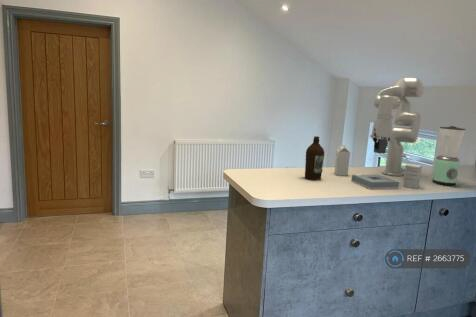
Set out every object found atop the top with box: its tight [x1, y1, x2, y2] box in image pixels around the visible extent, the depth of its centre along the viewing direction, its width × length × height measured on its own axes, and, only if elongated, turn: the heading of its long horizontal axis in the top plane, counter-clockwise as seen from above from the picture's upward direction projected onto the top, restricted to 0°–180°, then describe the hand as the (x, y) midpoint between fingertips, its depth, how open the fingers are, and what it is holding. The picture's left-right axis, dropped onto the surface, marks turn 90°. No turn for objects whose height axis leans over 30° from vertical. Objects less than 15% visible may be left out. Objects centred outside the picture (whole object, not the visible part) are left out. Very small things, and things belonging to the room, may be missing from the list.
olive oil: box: [304, 135, 325, 181], centre depth 212 cm, size 11×11×25 cm
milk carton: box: [333, 144, 351, 177], centre depth 229 cm, size 7×7×19 cm
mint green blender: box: [431, 125, 466, 186], centre depth 219 cm, size 19×13×35 cm
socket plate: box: [351, 173, 400, 190], centre depth 206 cm, size 18×18×5 cm
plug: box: [373, 138, 388, 154], centre depth 208 cm, size 4×4×8 cm
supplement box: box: [402, 163, 423, 190], centre depth 207 cm, size 7×7×13 cm
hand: (379, 149), depth 209 cm, fingers closed on plug, 4 cm apart
